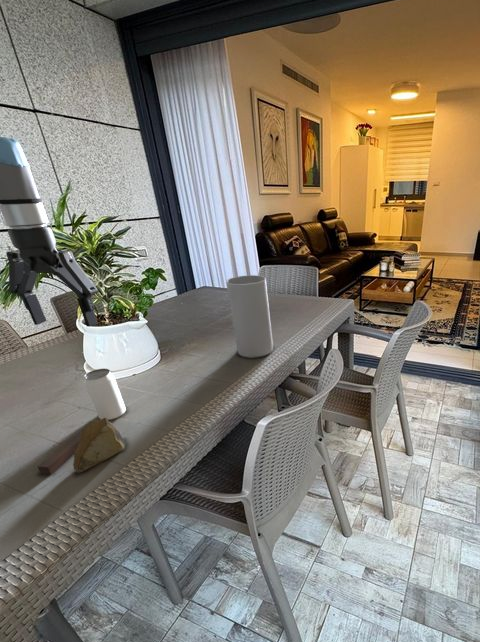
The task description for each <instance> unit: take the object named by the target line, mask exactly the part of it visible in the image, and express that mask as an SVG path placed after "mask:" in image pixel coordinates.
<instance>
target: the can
mask: <svg viewBox="0 0 480 642" xmlns="http://www.w3.org/2000/svg"><path fill="white" fill-rule="evenodd" d="M84 386H85V388H86V390H87V393H88V395H89V398H90V401H91V403H92V405H93V407H94V410H95V412H96V415H97V417H98V419H103V418H106V419H107V420H109V421H111V420H116V419H118V418H120V417H121V416H123V415H124V414H125V413H126V410H127V408H126V405H125V402H124V399H123V398H122V397H123V396H122V394H121V390H120V388H119V386H118V383H117V380H116V378H115V375H114V374H113V373H112V372H111V370H110V369H109V368H98V369H94V370H91V371H89V372H87V373H86V374H85V375H84Z"/></svg>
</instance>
